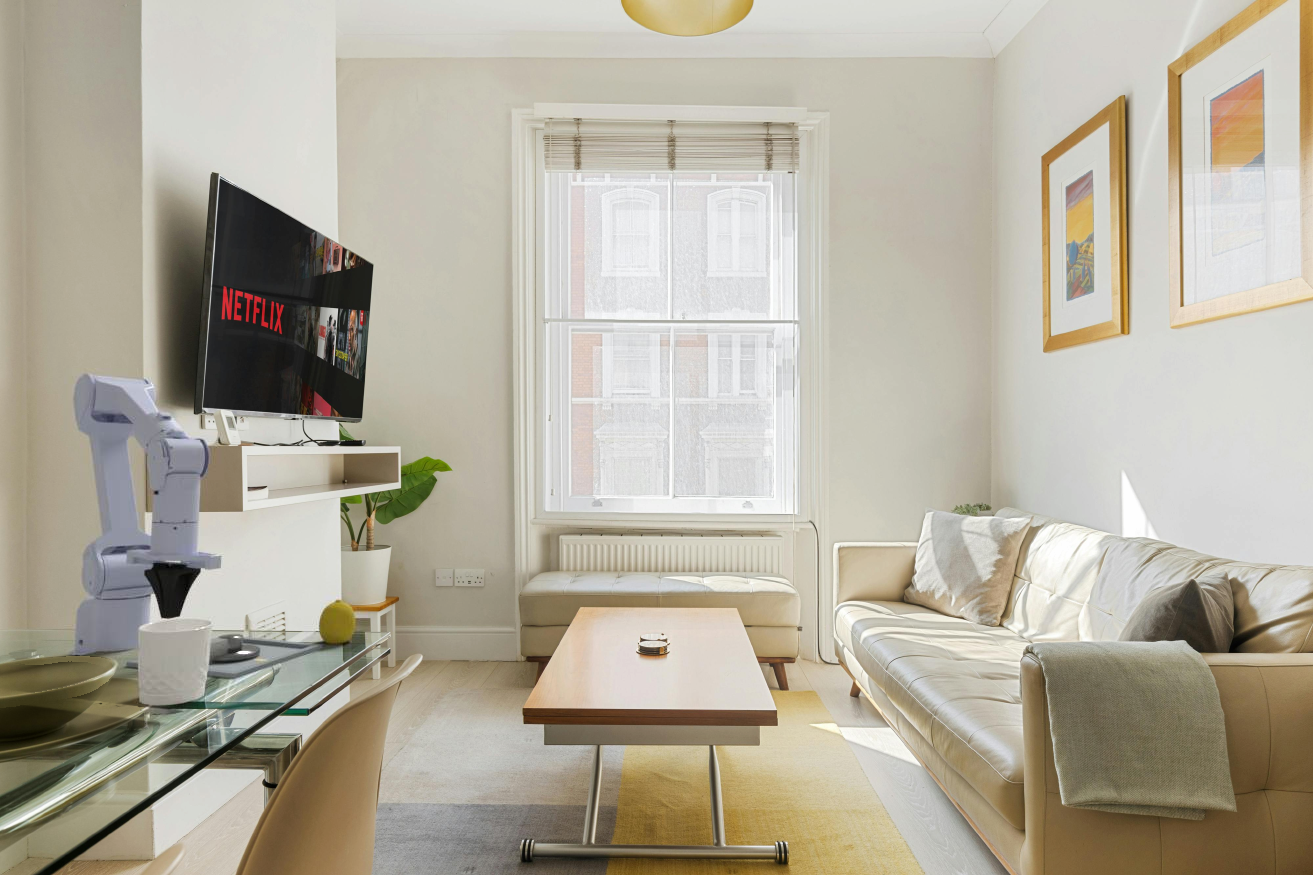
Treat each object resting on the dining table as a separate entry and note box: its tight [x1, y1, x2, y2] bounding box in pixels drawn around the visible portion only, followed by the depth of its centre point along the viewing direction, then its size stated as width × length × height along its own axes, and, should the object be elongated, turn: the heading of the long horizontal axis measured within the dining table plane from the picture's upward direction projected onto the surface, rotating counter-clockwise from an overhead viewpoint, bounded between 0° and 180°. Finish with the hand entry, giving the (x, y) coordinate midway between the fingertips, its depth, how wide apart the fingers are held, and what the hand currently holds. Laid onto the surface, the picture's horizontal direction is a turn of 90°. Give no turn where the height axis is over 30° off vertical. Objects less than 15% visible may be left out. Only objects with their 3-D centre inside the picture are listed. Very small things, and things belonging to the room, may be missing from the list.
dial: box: [209, 633, 260, 664], centre depth 114 cm, size 11×8×3 cm
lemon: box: [318, 599, 356, 645], centre depth 127 cm, size 6×6×8 cm
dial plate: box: [125, 636, 323, 679], centre depth 115 cm, size 18×18×2 cm
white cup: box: [137, 618, 214, 715], centre depth 96 cm, size 8×8×10 cm
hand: (170, 617), depth 111 cm, fingers closed
